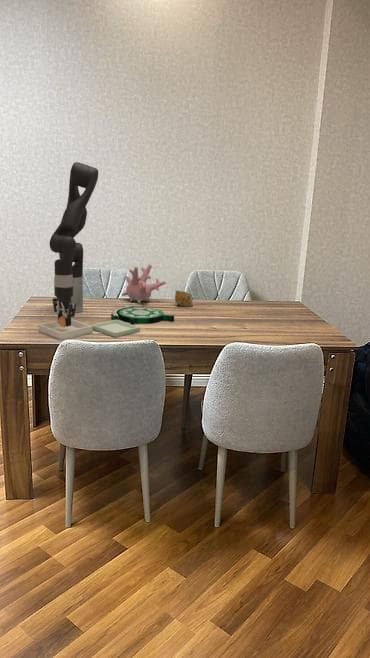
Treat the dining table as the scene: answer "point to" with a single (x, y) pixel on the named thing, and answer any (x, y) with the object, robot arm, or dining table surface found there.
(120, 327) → the tray
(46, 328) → the cream square dish
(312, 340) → the dining table surface
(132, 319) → the emblem
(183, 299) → the rock
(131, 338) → the dining table surface
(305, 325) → the dining table surface
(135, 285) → the toy
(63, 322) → the ball
